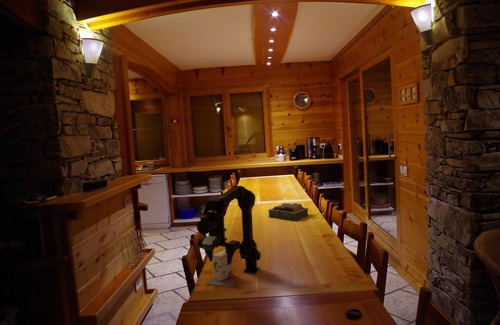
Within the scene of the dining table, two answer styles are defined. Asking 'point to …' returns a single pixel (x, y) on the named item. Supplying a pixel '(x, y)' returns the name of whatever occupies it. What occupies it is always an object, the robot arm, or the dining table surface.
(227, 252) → the robot arm
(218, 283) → the slate mat
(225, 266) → the ink box
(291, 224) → the dining table surface
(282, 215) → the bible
